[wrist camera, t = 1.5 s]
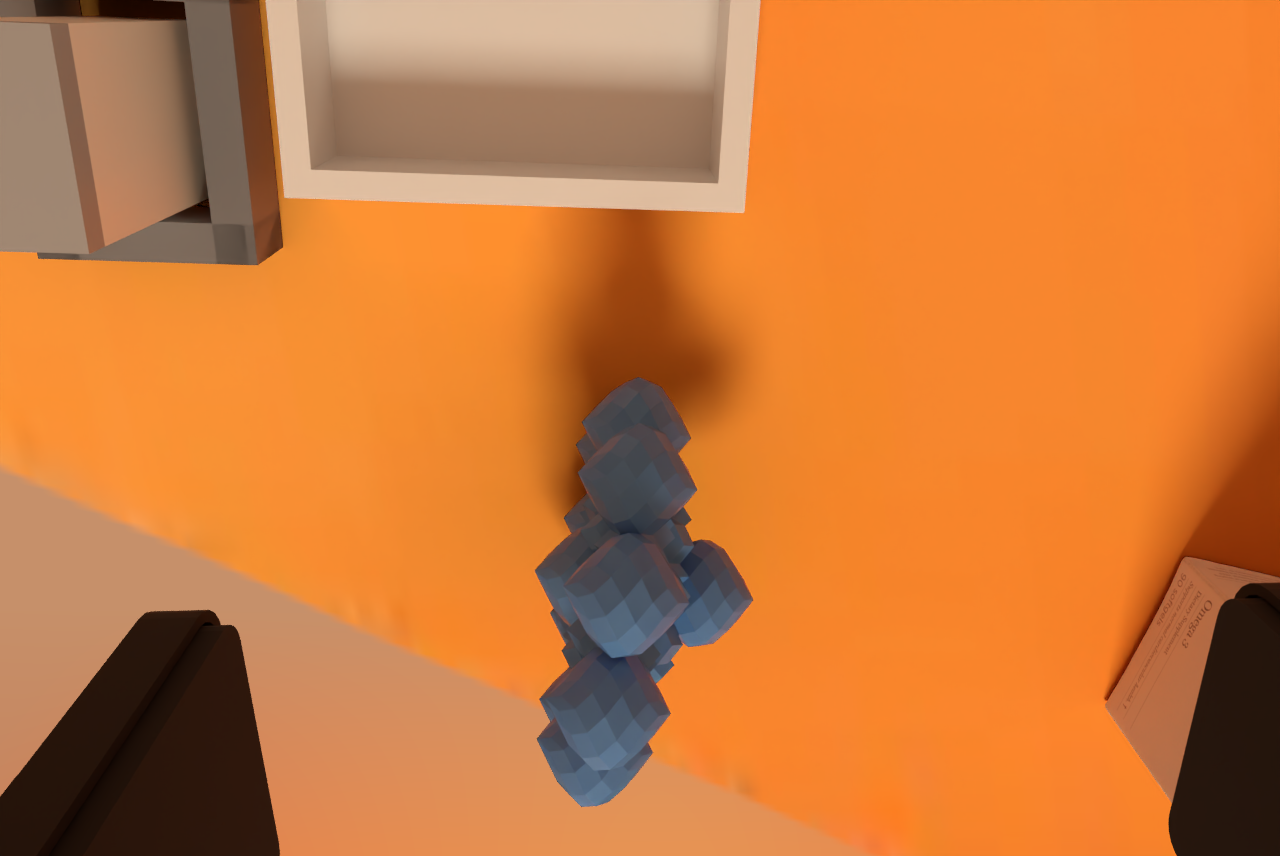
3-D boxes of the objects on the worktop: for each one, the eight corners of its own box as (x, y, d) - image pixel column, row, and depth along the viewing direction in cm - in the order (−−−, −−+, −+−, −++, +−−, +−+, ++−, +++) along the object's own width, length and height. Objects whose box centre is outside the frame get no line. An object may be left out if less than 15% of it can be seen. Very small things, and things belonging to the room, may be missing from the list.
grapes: (700, 646, 39) (736, 901, 28) (525, 623, 38) (490, 875, 27) (766, 362, 34) (840, 529, 23) (569, 331, 34) (549, 488, 23)
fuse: (99, 16, 30) (-94, 18, 22) (202, 20, 30) (49, 23, 22) (125, 188, 32) (-43, 250, 23) (223, 191, 32) (89, 253, 24)
